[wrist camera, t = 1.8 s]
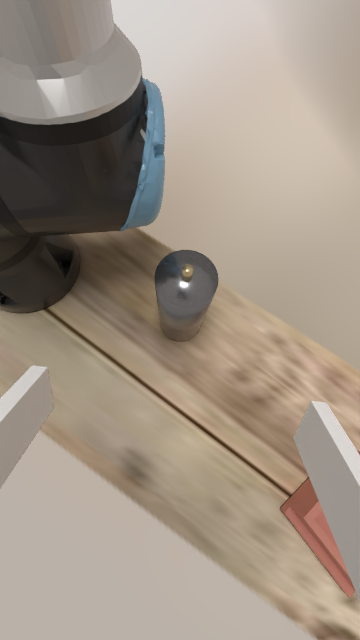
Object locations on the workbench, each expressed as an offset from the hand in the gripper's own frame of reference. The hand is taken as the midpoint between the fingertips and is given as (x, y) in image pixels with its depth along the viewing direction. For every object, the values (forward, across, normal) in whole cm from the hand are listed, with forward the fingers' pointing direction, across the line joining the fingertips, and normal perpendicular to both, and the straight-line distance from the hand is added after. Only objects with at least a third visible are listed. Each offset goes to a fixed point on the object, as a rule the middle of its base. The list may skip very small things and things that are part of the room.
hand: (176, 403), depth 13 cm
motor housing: (+23, 0, -7) cm, 24 cm away
